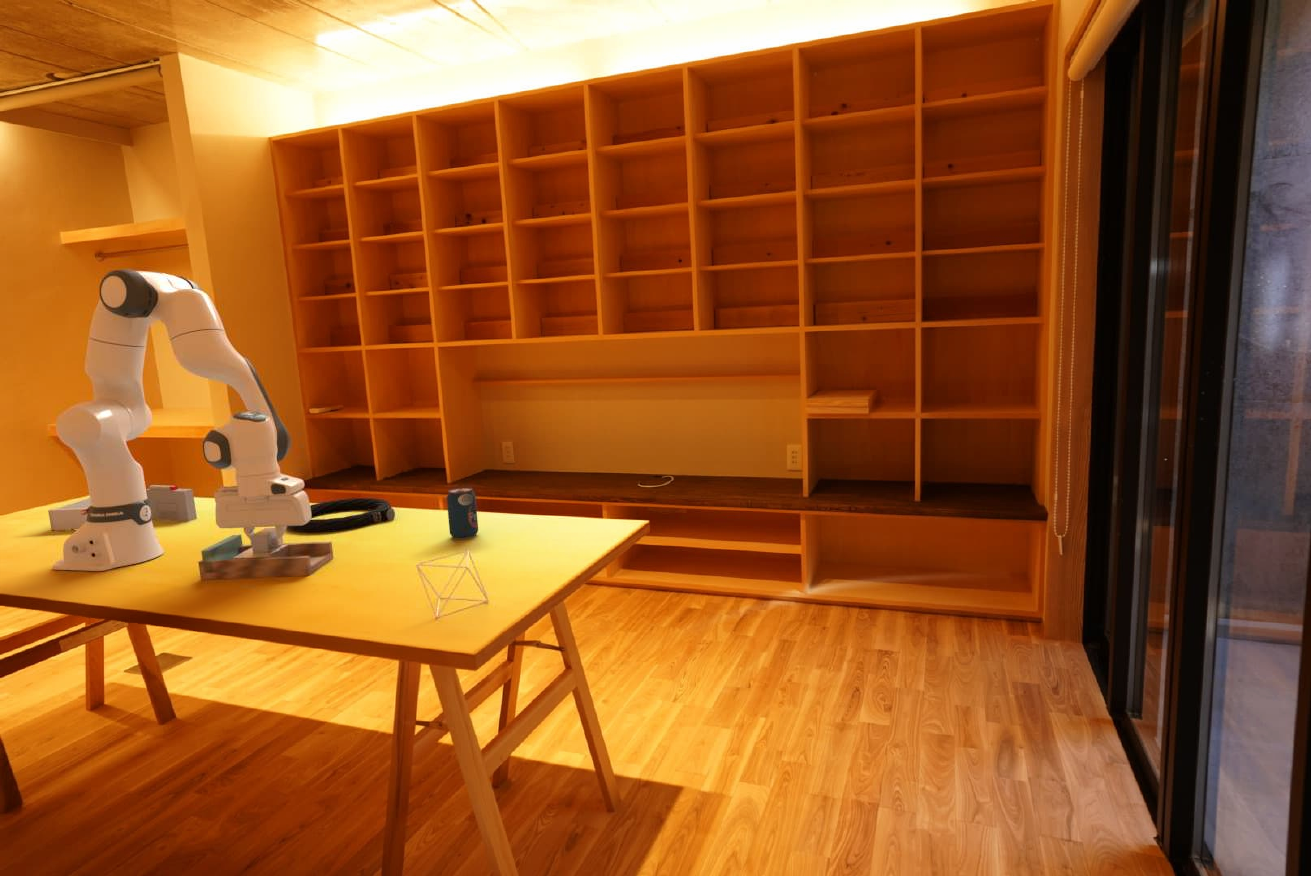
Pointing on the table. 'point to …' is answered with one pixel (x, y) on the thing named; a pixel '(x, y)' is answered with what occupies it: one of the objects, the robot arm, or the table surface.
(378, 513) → the cable lock
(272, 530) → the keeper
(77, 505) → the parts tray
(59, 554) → the table surface
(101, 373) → the robot arm
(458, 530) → the soda can
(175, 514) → the cassette player
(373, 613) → the table surface
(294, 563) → the drawer
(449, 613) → the geometric polyhedron
